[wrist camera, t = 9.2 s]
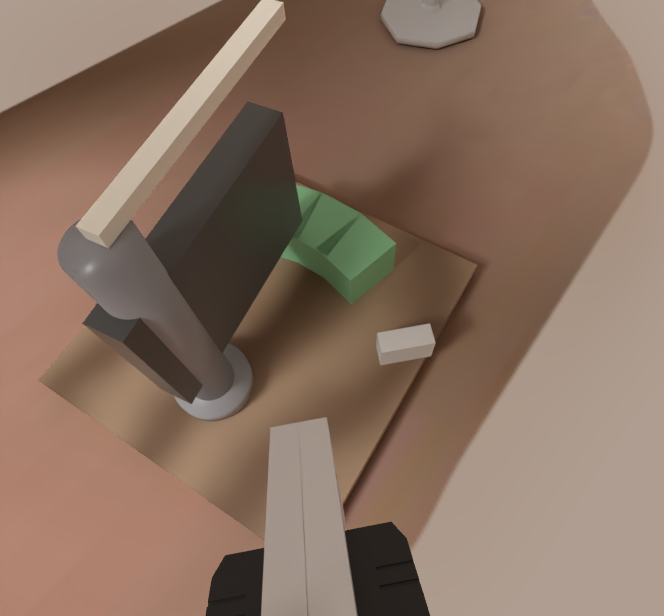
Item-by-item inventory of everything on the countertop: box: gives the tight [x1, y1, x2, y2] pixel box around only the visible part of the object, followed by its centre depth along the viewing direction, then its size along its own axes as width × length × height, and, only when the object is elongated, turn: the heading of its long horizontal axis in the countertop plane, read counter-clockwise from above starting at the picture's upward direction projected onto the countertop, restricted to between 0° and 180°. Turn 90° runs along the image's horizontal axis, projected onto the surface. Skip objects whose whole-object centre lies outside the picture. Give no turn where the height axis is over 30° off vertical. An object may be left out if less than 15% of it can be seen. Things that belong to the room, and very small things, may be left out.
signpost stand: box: [58, 0, 302, 422], centre depth 24 cm, size 14×4×15 cm, turn 154°
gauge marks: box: [281, 185, 435, 365], centre depth 31 cm, size 14×5×3 cm, turn 40°
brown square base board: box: [39, 181, 477, 540], centre depth 32 cm, size 19×20×1 cm
